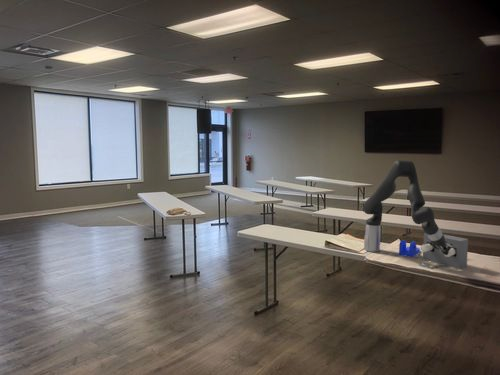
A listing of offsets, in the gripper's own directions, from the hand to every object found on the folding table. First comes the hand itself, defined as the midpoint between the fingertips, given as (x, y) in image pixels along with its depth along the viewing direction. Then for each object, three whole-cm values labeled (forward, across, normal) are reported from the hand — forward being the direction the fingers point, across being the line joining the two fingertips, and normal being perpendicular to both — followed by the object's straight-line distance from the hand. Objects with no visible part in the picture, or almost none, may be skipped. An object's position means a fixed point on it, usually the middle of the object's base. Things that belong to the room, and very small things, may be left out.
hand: (446, 253), depth 217 cm
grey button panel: (+13, +6, 0) cm, 14 cm away
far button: (+4, +13, -1) cm, 13 cm away
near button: (+5, 0, -2) cm, 5 cm away
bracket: (+16, +31, -2) cm, 35 cm away
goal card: (+4, +8, +9) cm, 13 cm away
